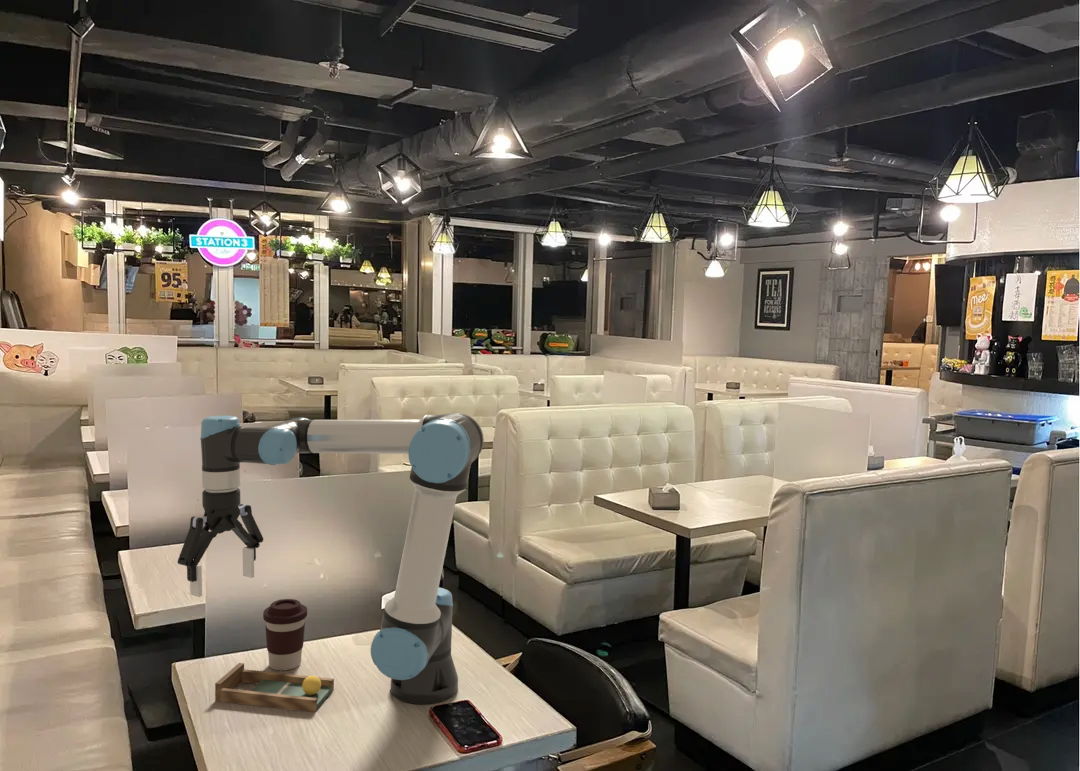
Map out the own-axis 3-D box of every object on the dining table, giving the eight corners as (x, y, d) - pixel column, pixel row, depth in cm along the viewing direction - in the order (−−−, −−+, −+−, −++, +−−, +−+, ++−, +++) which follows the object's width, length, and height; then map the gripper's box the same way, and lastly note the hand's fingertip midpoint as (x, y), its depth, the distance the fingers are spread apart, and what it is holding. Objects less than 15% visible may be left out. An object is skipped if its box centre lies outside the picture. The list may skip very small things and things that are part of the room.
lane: (333, 689, 176) (333, 672, 176) (315, 712, 166) (315, 694, 166) (239, 679, 179) (239, 662, 179) (215, 701, 169) (215, 683, 169)
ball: (324, 690, 173) (324, 673, 173) (316, 699, 169) (316, 681, 169) (306, 688, 174) (307, 671, 173) (298, 697, 170) (299, 679, 170)
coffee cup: (275, 653, 193) (275, 594, 192) (313, 657, 192) (314, 598, 190) (255, 671, 183) (255, 609, 182) (295, 676, 182) (296, 613, 181)
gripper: (255, 476, 180) (256, 566, 182) (156, 498, 158) (159, 600, 160) (278, 480, 176) (280, 572, 178) (181, 503, 155) (184, 607, 157)
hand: (223, 585), depth 169 cm, fingers open, 13 cm apart
